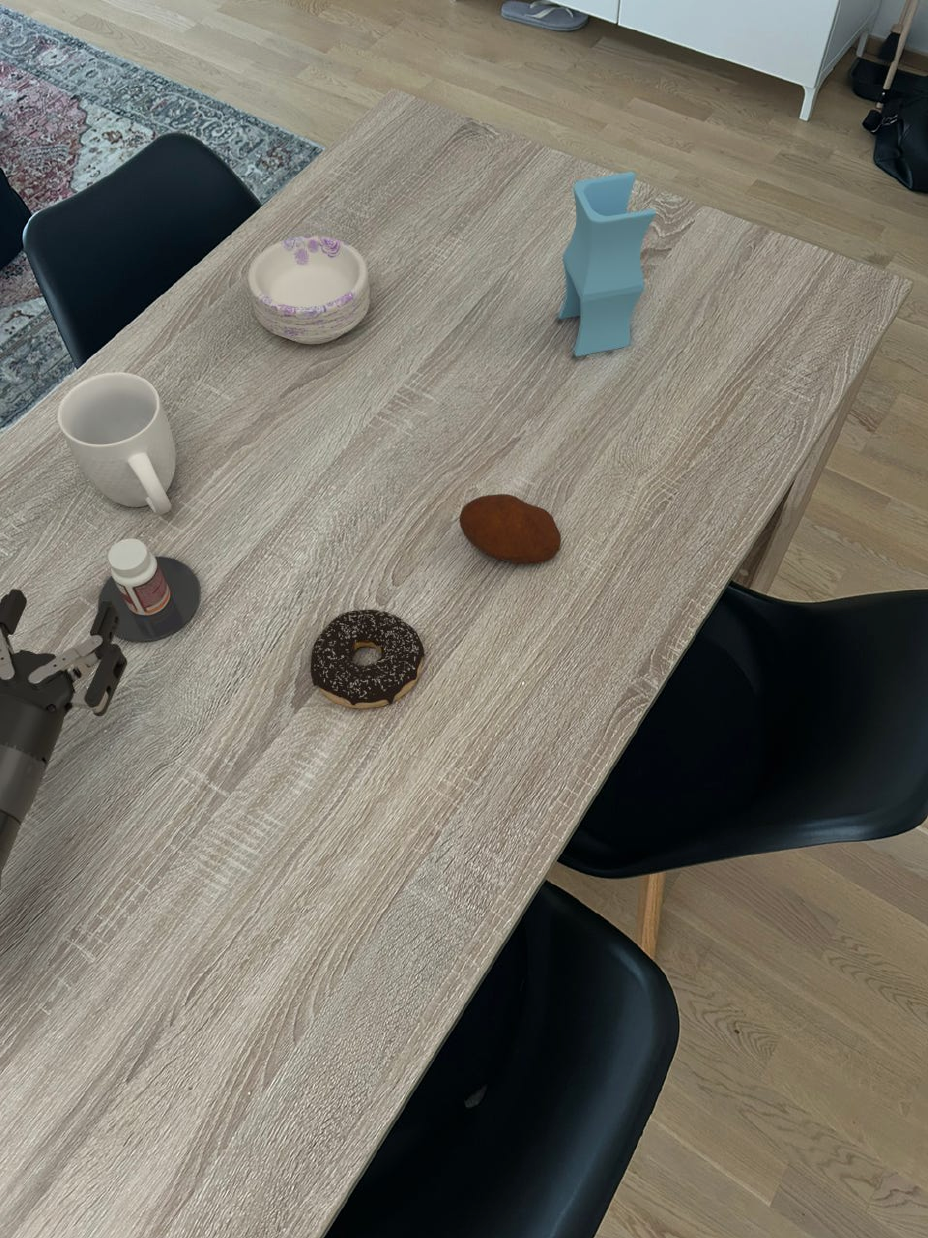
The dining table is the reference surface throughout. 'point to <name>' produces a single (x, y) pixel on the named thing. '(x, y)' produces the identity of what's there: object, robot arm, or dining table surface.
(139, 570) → the pill bottle
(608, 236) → the vase
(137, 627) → the coaster
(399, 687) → the donut
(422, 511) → the dining table surface
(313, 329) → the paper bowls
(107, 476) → the mug
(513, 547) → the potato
